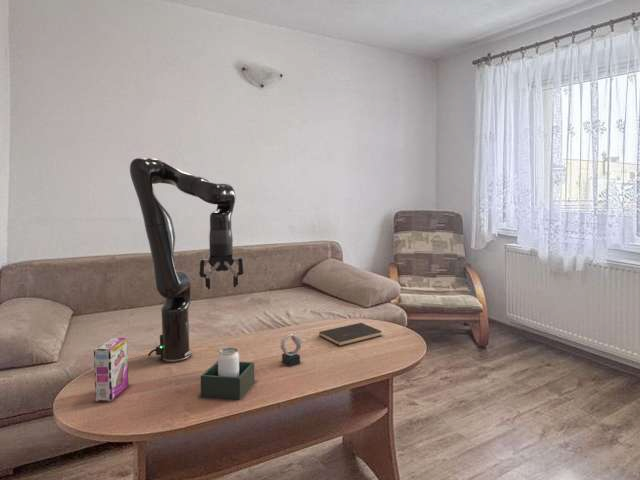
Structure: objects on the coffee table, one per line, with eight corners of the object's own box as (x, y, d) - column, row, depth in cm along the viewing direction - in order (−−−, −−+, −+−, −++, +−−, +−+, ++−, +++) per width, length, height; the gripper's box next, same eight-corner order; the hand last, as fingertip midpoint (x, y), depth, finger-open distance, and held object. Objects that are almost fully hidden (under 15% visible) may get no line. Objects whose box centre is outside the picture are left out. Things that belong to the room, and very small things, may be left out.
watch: (304, 362, 166) (304, 334, 164) (285, 367, 160) (285, 338, 159) (296, 357, 170) (296, 330, 168) (277, 362, 164) (277, 334, 163)
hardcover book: (381, 336, 197) (381, 331, 197) (339, 346, 183) (339, 341, 183) (360, 326, 210) (360, 322, 209) (319, 336, 195) (319, 331, 195)
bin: (200, 396, 137) (200, 375, 136) (218, 379, 149) (218, 360, 148) (240, 399, 136) (239, 378, 135) (254, 381, 148) (254, 362, 147)
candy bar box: (112, 401, 132) (109, 349, 130) (95, 402, 132) (92, 349, 130) (129, 385, 143) (127, 337, 141) (113, 385, 143) (111, 337, 141)
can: (233, 391, 139) (232, 355, 137) (214, 389, 140) (213, 353, 139) (243, 383, 145) (242, 348, 144) (225, 381, 146) (224, 346, 145)
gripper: (240, 240, 158) (241, 284, 160) (198, 241, 152) (199, 287, 154) (244, 242, 151) (244, 288, 153) (199, 243, 145) (200, 291, 147)
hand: (221, 287), depth 153 cm, fingers open, 8 cm apart
